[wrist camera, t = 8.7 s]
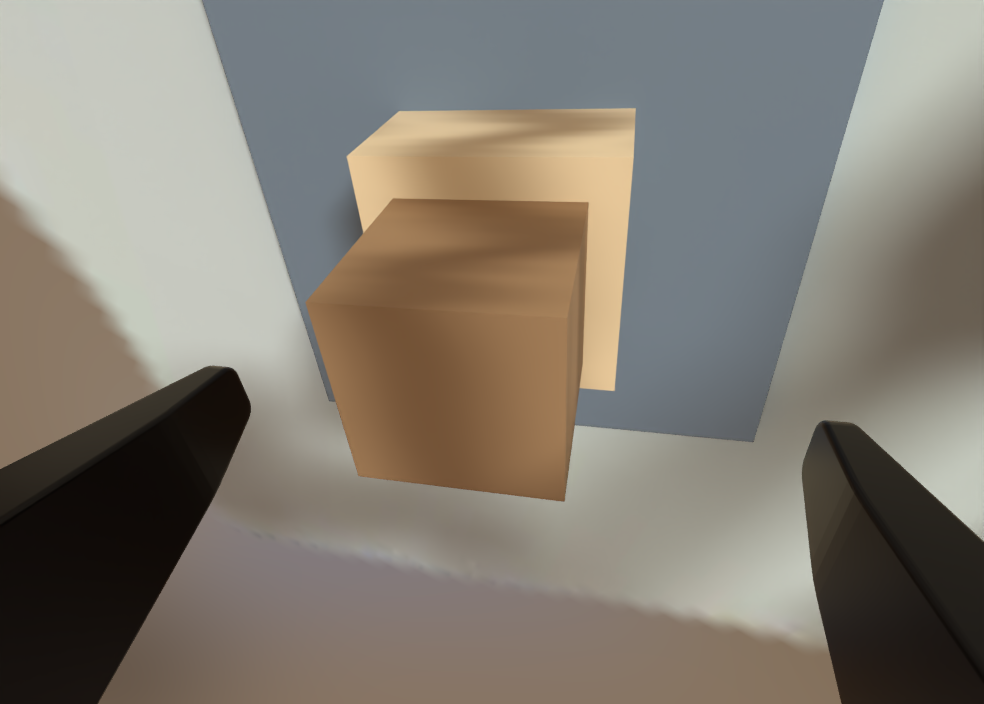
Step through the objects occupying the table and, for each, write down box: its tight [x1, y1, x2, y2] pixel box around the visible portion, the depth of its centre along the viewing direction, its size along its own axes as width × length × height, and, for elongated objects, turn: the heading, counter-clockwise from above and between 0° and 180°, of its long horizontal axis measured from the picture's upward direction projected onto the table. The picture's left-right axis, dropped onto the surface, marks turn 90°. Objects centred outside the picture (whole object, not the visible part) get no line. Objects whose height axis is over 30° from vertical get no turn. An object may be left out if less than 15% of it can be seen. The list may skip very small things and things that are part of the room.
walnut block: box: [305, 198, 589, 501], centre depth 14 cm, size 5×5×5 cm
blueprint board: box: [202, 0, 884, 442], centre depth 19 cm, size 18×18×1 cm
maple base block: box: [347, 108, 636, 391], centre depth 17 cm, size 7×7×4 cm
